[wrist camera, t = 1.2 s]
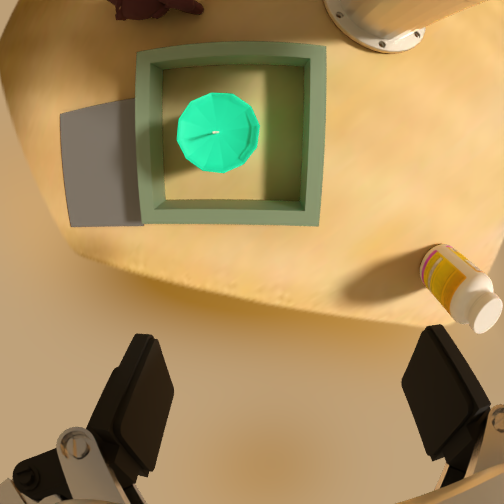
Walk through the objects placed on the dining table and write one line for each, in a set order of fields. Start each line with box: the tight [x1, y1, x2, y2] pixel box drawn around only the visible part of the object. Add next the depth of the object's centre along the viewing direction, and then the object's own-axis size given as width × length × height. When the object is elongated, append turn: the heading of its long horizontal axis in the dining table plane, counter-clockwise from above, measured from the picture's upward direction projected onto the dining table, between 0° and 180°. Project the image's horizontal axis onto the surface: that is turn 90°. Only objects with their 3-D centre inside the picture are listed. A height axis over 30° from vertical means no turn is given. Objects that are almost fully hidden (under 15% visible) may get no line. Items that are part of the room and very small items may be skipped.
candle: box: [177, 93, 260, 173], centre depth 23 cm, size 6×6×12 cm
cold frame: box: [135, 41, 326, 226], centre depth 27 cm, size 18×18×4 cm
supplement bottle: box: [420, 244, 503, 334], centre depth 28 cm, size 7×7×13 cm
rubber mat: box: [60, 98, 144, 227], centre depth 30 cm, size 15×11×1 cm
